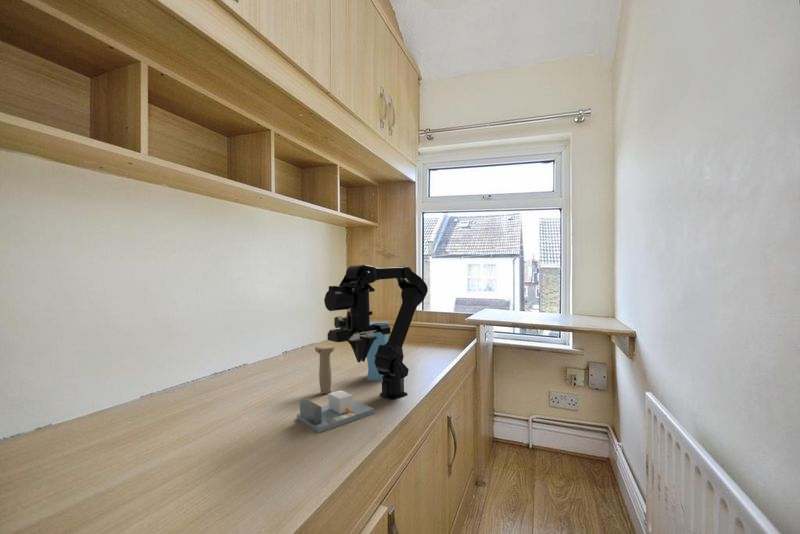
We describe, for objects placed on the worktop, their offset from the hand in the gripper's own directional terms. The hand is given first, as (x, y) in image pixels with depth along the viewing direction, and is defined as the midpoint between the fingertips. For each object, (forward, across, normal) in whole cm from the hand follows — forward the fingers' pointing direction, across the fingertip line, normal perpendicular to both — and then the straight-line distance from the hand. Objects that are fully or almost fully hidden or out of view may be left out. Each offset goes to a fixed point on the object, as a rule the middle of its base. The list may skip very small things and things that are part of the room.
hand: (361, 361), depth 99 cm
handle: (+13, +1, -19) cm, 23 cm away
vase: (+13, -22, -20) cm, 32 cm away
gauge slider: (+12, +7, +1) cm, 14 cm away
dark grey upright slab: (+12, +16, 0) cm, 20 cm away
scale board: (+13, +9, 0) cm, 16 cm away
